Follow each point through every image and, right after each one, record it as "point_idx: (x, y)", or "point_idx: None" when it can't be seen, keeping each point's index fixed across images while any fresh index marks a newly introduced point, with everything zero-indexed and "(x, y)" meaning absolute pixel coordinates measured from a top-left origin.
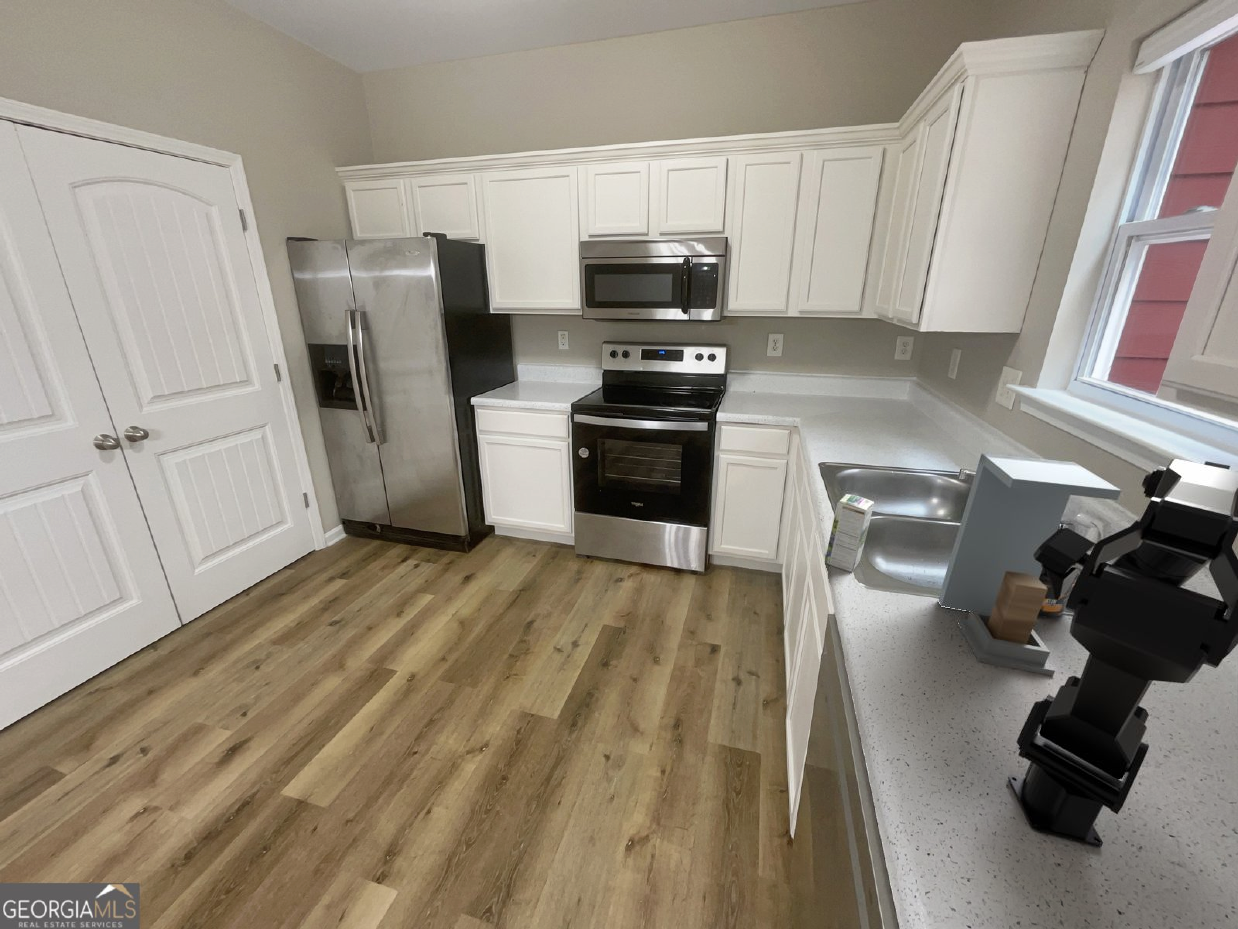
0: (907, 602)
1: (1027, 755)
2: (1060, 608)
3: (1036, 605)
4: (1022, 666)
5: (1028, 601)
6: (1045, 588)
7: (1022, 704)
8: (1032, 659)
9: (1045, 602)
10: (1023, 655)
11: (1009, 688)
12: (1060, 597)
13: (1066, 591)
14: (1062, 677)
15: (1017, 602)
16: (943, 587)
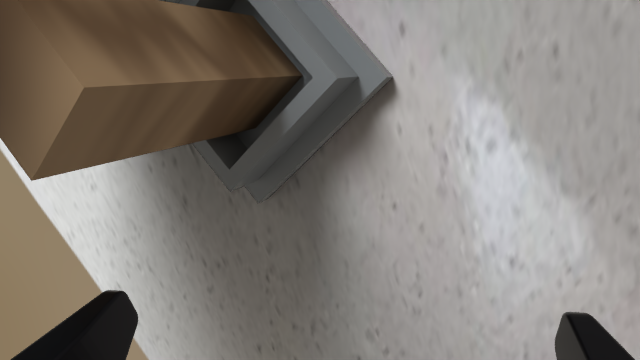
0: None
1: None
2: None
3: (161, 97)
4: (328, 136)
5: (133, 120)
6: (76, 89)
7: (392, 281)
8: (327, 103)
9: None
10: (306, 122)
11: (350, 243)
12: (121, 344)
13: (86, 339)
14: (411, 54)
15: (127, 144)
16: None
